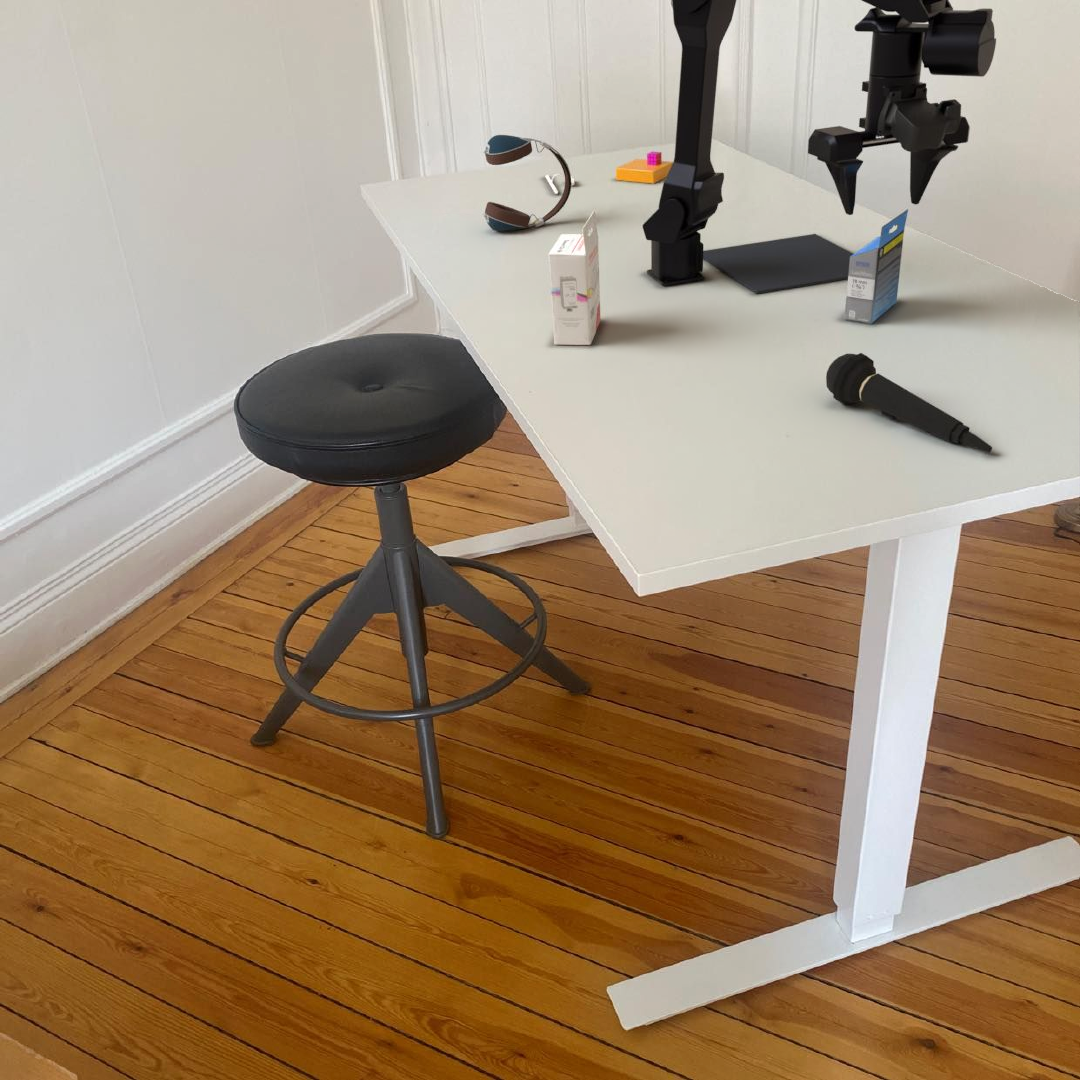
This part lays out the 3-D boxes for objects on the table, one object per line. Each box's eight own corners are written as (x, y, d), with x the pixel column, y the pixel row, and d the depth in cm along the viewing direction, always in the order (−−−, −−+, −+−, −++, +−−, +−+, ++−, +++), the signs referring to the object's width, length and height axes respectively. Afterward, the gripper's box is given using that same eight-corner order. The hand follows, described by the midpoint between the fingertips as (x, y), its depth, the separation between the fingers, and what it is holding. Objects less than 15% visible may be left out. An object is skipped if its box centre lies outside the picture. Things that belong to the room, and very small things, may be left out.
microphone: (991, 474, 111) (837, 393, 124) (1016, 422, 109) (857, 344, 121) (963, 477, 108) (808, 393, 120) (989, 423, 105) (828, 343, 118)
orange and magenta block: (653, 183, 206) (653, 160, 204) (615, 180, 210) (615, 156, 208) (673, 173, 211) (673, 150, 209) (636, 170, 215) (636, 147, 213)
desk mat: (756, 294, 152) (756, 291, 151) (696, 254, 168) (696, 251, 168) (885, 273, 156) (886, 270, 156) (814, 236, 173) (815, 233, 172)
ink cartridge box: (564, 321, 147) (559, 209, 139) (601, 322, 146) (598, 209, 138) (551, 345, 140) (545, 228, 132) (590, 346, 139) (586, 228, 131)
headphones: (446, 237, 179) (574, 232, 185) (445, 139, 172) (579, 137, 178) (437, 228, 184) (562, 223, 191) (436, 132, 177) (566, 130, 183)
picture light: (544, 177, 214) (544, 166, 213) (567, 175, 215) (566, 164, 214) (555, 195, 203) (554, 183, 201) (578, 193, 203) (578, 181, 202)
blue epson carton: (869, 298, 148) (878, 205, 141) (897, 303, 146) (909, 208, 139) (842, 320, 142) (851, 223, 135) (872, 325, 140) (882, 226, 133)
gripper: (861, 92, 120) (850, 236, 128) (1008, 72, 124) (988, 213, 132) (809, 79, 129) (802, 214, 137) (948, 61, 134) (933, 193, 142)
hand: (882, 208), depth 137 cm, fingers open, 9 cm apart
